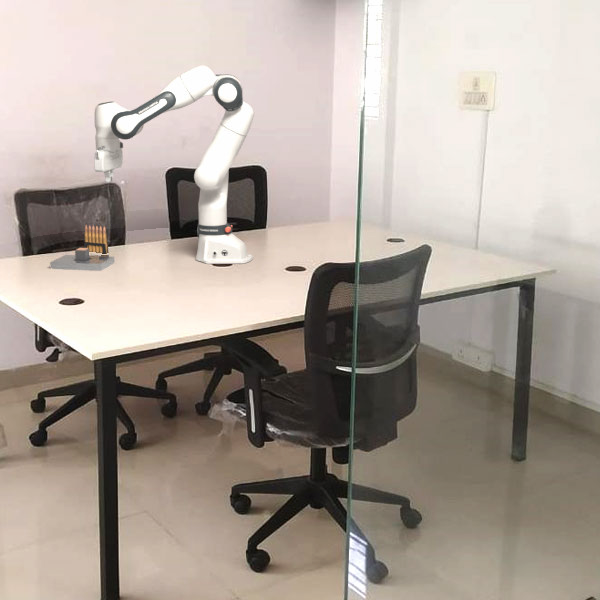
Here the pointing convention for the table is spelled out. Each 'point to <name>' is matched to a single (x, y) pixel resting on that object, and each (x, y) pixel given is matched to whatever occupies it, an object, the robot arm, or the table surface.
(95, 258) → the socket plate
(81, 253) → the plug
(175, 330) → the table surface
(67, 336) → the table surface
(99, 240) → the ammunition clip
